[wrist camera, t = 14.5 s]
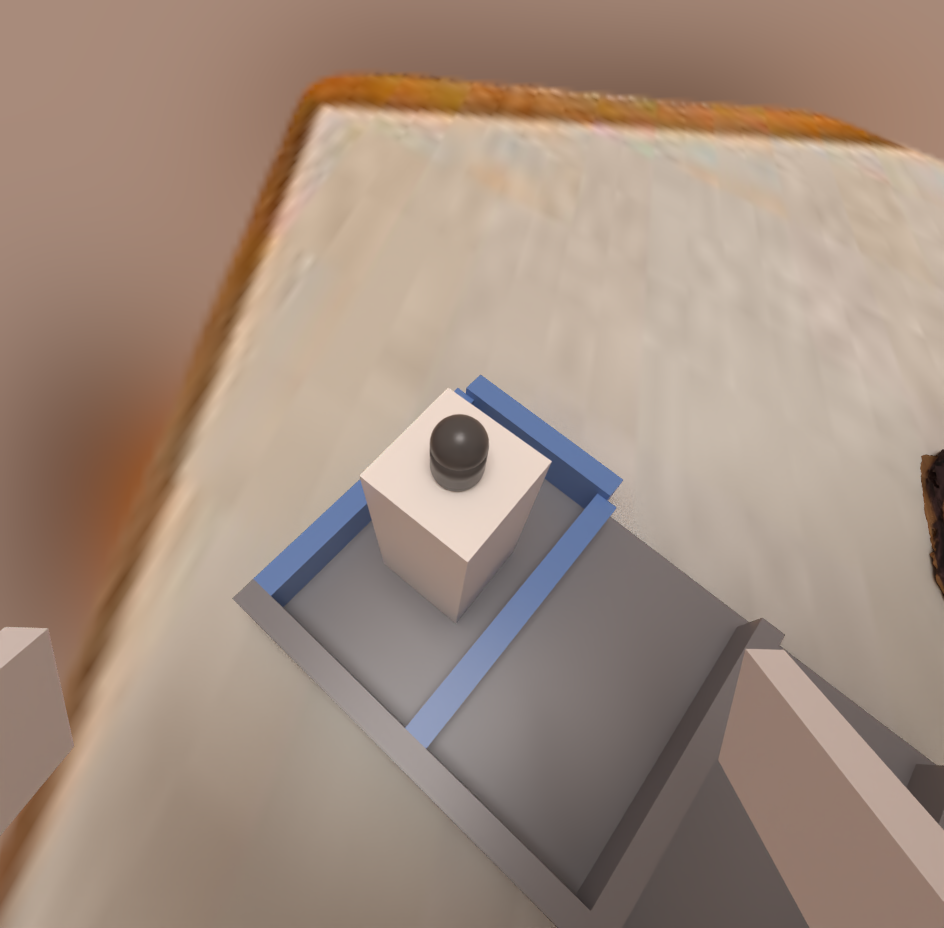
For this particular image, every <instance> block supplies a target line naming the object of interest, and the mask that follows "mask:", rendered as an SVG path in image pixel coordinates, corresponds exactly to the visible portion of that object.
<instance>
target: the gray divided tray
mask: <svg viewBox="0 0 944 928" xmlns="http://www.w3.org/2000/svg"><path fill="white" fill-rule="evenodd" d="M454 392H455V393H457V394H458V395H459V396H461V397H462V398H464V399H465V400H466V401H468V402H469V403H471V404H472V405H473V406H475V407H476V408H478V409H479V410H480V411H482V412H483V413H485V414H486V415H487V416H489V417H490V418H492V419H493V420H494V421H496V422H497V423H499V424H500V425H501V426H503V427H504V428H506V429H507V430H508V431H510V432H511V433H513V434H514V435H515V436H517V437H518V438H520V439H521V440H523V441H524V442H525V443H527V444H528V445H530V446H531V447H532V448H534V449H535V450H537V451H538V452H539V453H541V454H542V455H544V456H545V457H546V458H548V459H549V460H551V461H552V462H551V464H550V467H549V469H548V471H547V474H546V476H545V478H544V481H543V483H542V485H541V488H540V490H539V492H538V495H537V497H536V499H535V501H534V504H533V506H532V508H531V511H530V513H529V515H528V518H527V520H526V522H525V525H524V527H523V529H522V532H521V534H520V536H519V539H518V541H517V543H516V546H515V548H514V550H513V552H512V553H511V555H510V556H509V557H508V558H507V560H506V561H505V562H504V564H503V565H502V566H501V567H500V569H499V570H498V571H497V572H496V574H495V575H494V576H493V577H492V579H491V580H490V581H489V582H488V584H487V585H486V586H485V587H484V589H483V590H482V591H481V592H480V594H479V595H478V596H477V597H476V599H475V600H474V601H473V602H472V604H471V605H470V606H469V607H468V609H467V610H466V611H465V612H464V614H463V615H462V616H461V617H460V619H459V620H458V621H457V622H456V623H454V622H453V621H452V620H451V619H450V618H448V617H447V616H446V615H445V614H444V613H443V612H441V611H440V610H439V609H438V608H437V607H435V606H434V605H433V604H432V603H431V602H429V601H428V600H427V599H426V598H425V597H423V596H422V595H421V594H420V593H419V592H417V591H416V590H415V589H414V588H413V587H411V586H410V585H409V584H408V583H407V582H406V581H404V580H403V579H402V578H401V577H400V576H398V575H397V574H396V573H395V572H394V571H392V570H391V569H390V568H389V567H388V566H386V565H385V564H384V561H383V558H382V554H381V551H380V547H379V544H378V540H377V537H376V533H375V530H374V526H373V523H372V519H371V516H370V512H369V509H368V505H367V501H366V498H365V494H364V491H363V487H362V484H361V480H359V481H358V482H356V483H355V484H354V485H353V486H352V487H351V488H350V489H349V490H348V491H347V492H346V493H345V494H344V495H343V496H341V497H340V498H339V499H338V500H337V501H336V502H335V503H334V504H333V505H332V506H331V507H330V508H329V509H328V510H326V511H325V512H324V513H323V514H322V515H321V516H320V517H319V518H318V519H317V520H316V521H315V522H314V523H313V524H312V525H310V526H309V527H308V528H307V529H306V530H305V531H304V532H303V533H302V534H301V535H300V536H299V537H298V538H297V539H295V540H294V541H293V542H292V543H291V544H290V545H289V546H288V547H287V548H286V549H285V550H284V551H283V552H282V553H280V554H279V555H278V556H277V557H276V558H275V559H274V560H273V561H272V562H271V563H270V564H269V565H268V566H267V567H265V568H264V569H263V570H262V571H261V572H260V573H259V574H258V575H257V576H256V577H255V578H254V579H253V580H252V581H250V582H249V583H248V584H247V585H246V586H245V587H244V588H243V589H242V590H241V591H240V592H239V593H238V594H237V595H235V596H234V597H233V598H232V599H233V600H234V601H235V602H236V603H237V604H238V605H239V606H240V607H241V608H242V609H243V610H244V611H245V612H246V613H247V614H248V615H249V616H250V617H251V618H252V619H253V620H254V621H255V622H256V623H257V624H258V625H259V626H260V627H261V628H262V629H263V630H264V631H265V632H266V633H267V634H268V635H269V636H270V637H271V638H272V639H273V640H274V641H275V642H276V643H277V644H278V645H279V646H280V647H281V648H282V649H283V650H284V651H285V652H286V653H287V654H288V655H289V656H290V657H291V658H292V659H293V660H294V661H295V662H296V663H297V664H298V665H299V666H300V667H301V668H302V669H303V670H304V671H305V672H306V673H307V674H308V675H309V676H310V677H311V678H312V680H313V681H314V682H315V683H316V684H317V685H318V686H319V687H320V688H321V689H322V690H323V691H324V692H325V693H326V694H327V695H328V696H329V697H330V698H331V699H332V700H333V701H334V702H335V703H336V704H337V705H338V706H339V707H340V708H341V709H342V710H343V711H344V712H345V713H346V714H347V715H348V716H349V717H350V718H351V719H352V720H353V721H354V722H355V723H356V724H357V725H358V726H359V727H360V728H361V729H362V730H363V731H364V732H365V733H366V734H367V735H368V736H369V737H370V738H371V739H372V740H373V741H374V742H375V743H376V744H377V745H378V746H379V747H380V748H381V749H382V750H383V751H384V752H385V753H386V754H387V755H388V756H389V757H390V758H391V759H392V760H393V762H394V763H395V764H396V765H397V766H398V767H399V768H400V769H401V770H402V771H403V772H404V773H405V774H406V775H407V776H408V777H409V778H410V779H411V780H412V781H413V782H414V783H415V784H416V785H417V786H418V787H419V788H420V789H421V790H422V791H423V792H424V793H425V794H426V795H427V796H428V797H429V798H430V799H431V800H432V801H433V802H434V803H435V804H436V805H437V806H438V807H439V808H440V809H441V810H442V811H443V812H444V813H445V814H446V815H447V816H448V817H449V818H450V819H451V820H452V821H453V822H454V823H455V824H456V825H457V826H458V827H459V828H460V829H461V830H462V831H463V832H464V833H465V834H466V835H467V836H468V837H469V838H470V839H471V840H472V841H473V842H474V844H475V845H476V846H477V847H478V848H479V849H480V850H481V851H482V852H483V853H484V854H485V855H486V856H487V857H488V858H489V859H490V860H491V861H492V862H493V863H494V864H495V865H496V866H497V867H498V868H499V869H500V870H501V871H502V872H503V873H504V874H505V875H506V876H507V877H508V878H509V879H510V880H511V881H512V882H513V883H514V884H515V885H516V886H517V887H518V888H519V889H520V890H521V891H522V892H523V893H524V894H525V895H526V896H527V897H528V898H529V899H530V900H531V901H532V902H533V903H534V904H535V905H536V906H537V907H538V908H539V909H540V910H541V911H542V912H543V913H544V914H545V915H546V916H547V917H548V918H549V919H550V920H551V921H552V922H553V923H554V924H555V926H556V927H557V928H809V926H808V924H807V922H806V920H805V919H804V917H803V915H802V913H801V911H800V909H799V908H798V906H797V904H796V902H795V900H794V898H793V897H792V895H791V893H790V891H789V889H788V887H787V886H786V884H785V882H784V880H783V878H782V876H781V875H780V873H779V871H778V869H777V867H776V865H775V863H774V862H773V860H772V858H771V856H770V854H769V852H768V851H767V849H766V847H765V845H764V843H763V841H762V840H761V838H760V836H759V834H758V832H757V830H756V829H755V827H754V825H753V823H752V821H751V819H750V818H749V816H748V814H747V812H746V810H745V808H744V807H743V805H742V803H741V801H740V799H739V797H738V795H737V794H736V792H735V790H734V788H733V786H732V784H731V783H730V781H729V779H728V777H727V775H726V773H725V772H724V770H723V768H722V766H721V764H720V762H719V761H718V758H719V754H720V750H721V746H722V742H723V738H724V734H725V730H726V726H727V722H728V718H729V714H730V710H731V706H732V701H733V697H734V693H735V689H736V685H737V681H738V677H739V673H740V669H741V665H742V661H743V657H744V653H745V649H771V650H785V649H783V648H782V647H781V646H779V645H780V643H781V641H782V640H783V638H784V636H785V634H783V633H782V632H781V631H779V630H778V629H777V628H775V627H774V626H773V625H771V624H770V623H769V622H767V621H766V620H765V619H763V618H760V619H758V620H755V621H752V622H748V621H747V620H745V619H744V618H743V617H741V616H740V615H739V614H737V613H736V612H735V611H733V610H732V609H731V608H729V607H728V606H727V605H726V604H724V603H723V602H722V601H720V600H719V599H718V598H716V597H715V596H714V595H712V594H711V593H710V592H708V591H707V590H706V589H705V588H703V587H702V586H701V585H699V584H698V583H697V582H695V581H694V580H693V579H691V578H690V577H689V576H687V575H686V574H685V573H684V572H682V571H681V570H680V569H678V568H677V567H676V566H674V565H673V564H672V563H670V562H669V561H668V560H666V559H665V558H664V557H663V556H661V555H660V554H659V553H657V552H656V551H655V550H653V549H652V548H651V547H649V546H648V545H647V544H645V543H644V542H643V541H642V540H640V539H639V538H638V537H636V536H635V535H634V534H632V533H631V532H630V531H628V530H627V529H626V528H624V527H623V526H622V525H621V524H619V523H618V522H617V521H615V520H614V519H613V518H611V517H610V516H611V514H612V513H613V512H614V511H615V509H616V507H615V506H614V505H612V504H611V503H610V502H608V500H609V499H610V497H611V496H612V495H613V493H614V492H615V491H616V489H617V488H618V487H619V485H620V484H621V483H622V481H623V479H621V478H620V477H619V476H617V475H616V474H615V473H613V472H612V471H611V470H609V469H608V468H607V467H605V466H604V465H602V464H601V463H600V462H598V461H597V460H596V459H594V458H593V457H592V456H590V455H589V454H588V453H586V452H585V451H583V450H582V449H581V448H579V447H578V446H577V445H575V444H574V443H573V442H571V441H570V440H569V439H567V438H566V437H564V436H563V435H562V434H560V433H559V432H558V431H556V430H555V429H554V428H552V427H551V426H550V425H548V424H547V423H545V422H544V421H543V420H541V419H540V418H539V417H537V416H536V415H535V414H533V413H532V412H531V411H529V410H528V409H526V408H525V407H524V406H522V405H521V404H520V403H518V402H517V401H516V400H514V399H513V398H512V397H510V396H509V395H507V394H506V393H505V392H503V391H502V390H501V389H499V388H498V387H497V386H495V385H494V384H493V383H491V382H490V381H488V380H487V379H486V378H484V377H483V376H482V375H480V376H479V377H478V378H477V379H475V380H474V381H473V382H472V383H471V384H470V385H469V386H468V387H467V388H466V394H465V393H464V392H463V391H461V390H460V389H459V388H457V389H456V390H455V391H454ZM785 652H786V653H787V654H788V655H789V656H790V657H791V658H792V659H793V661H794V662H795V663H796V664H797V665H798V666H799V667H800V668H801V670H802V671H803V672H804V673H805V674H806V675H807V676H808V677H809V679H810V680H811V681H812V682H813V683H814V684H815V685H816V687H817V688H818V689H819V690H820V691H821V692H822V693H823V694H824V696H825V697H826V698H827V699H828V700H829V701H830V702H831V703H832V705H833V706H834V707H835V708H836V709H837V710H838V711H839V712H840V714H841V715H842V716H843V717H844V718H845V719H846V720H847V722H848V723H849V724H850V725H851V726H852V727H853V728H854V729H855V731H856V732H857V733H858V734H859V735H860V736H861V737H862V738H863V740H864V741H865V742H866V743H867V744H868V745H869V746H870V748H871V749H872V750H873V751H874V752H875V753H876V754H877V755H878V757H879V758H880V759H881V760H882V761H883V762H884V763H885V764H886V766H887V767H888V768H889V769H890V770H891V771H892V772H893V773H894V775H895V776H896V777H897V778H898V779H899V780H900V781H901V783H902V784H903V785H904V786H905V787H906V788H907V789H908V790H909V792H910V793H911V794H912V795H913V796H914V797H915V798H916V799H917V801H918V802H919V803H920V804H921V805H922V806H923V807H924V808H925V810H926V811H927V812H928V813H929V814H930V815H931V816H932V818H933V819H934V820H935V821H936V822H937V823H938V824H939V825H940V827H941V828H942V829H943V830H944V766H941V765H936V764H934V763H933V762H932V761H930V760H929V759H928V758H926V757H925V756H924V755H922V754H921V753H920V752H918V751H917V750H916V749H915V748H913V747H912V746H911V745H909V744H908V743H907V742H905V741H904V740H903V739H901V738H900V737H899V736H897V735H896V734H895V733H894V732H892V731H891V730H890V729H888V728H887V727H886V726H884V725H883V724H882V723H880V722H879V721H878V720H876V719H875V718H874V717H873V716H871V715H870V714H869V713H867V712H866V711H865V710H863V709H862V708H861V707H859V706H858V705H857V704H855V703H854V702H853V701H852V700H850V699H849V698H848V697H846V696H845V695H844V694H842V693H841V692H840V691H838V690H837V689H836V688H834V687H833V686H832V685H831V684H829V683H828V682H827V681H825V680H824V679H823V678H821V677H820V676H819V675H817V674H816V673H815V672H813V671H812V670H811V669H810V668H808V667H807V666H806V665H804V664H803V663H802V662H800V661H799V660H798V659H796V658H795V657H794V656H792V655H791V654H790V653H789V652H787V651H786V650H785Z"/></svg>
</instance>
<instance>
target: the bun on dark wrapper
mask: <svg viewBox="0 0 944 928" xmlns="http://www.w3.org/2000/svg"><path fill="white" fill-rule="evenodd" d="M921 457H922V462H921V468H920V469H921V473H922V474H921V482H922V487H923V497H924V503H925V504H924V511H925V515H926V519H927V522H928V529H929V534H930V536H931V538H930V541H931V543H932V548H934V550H935V552H931V553H930V556H931V557H932V558H933V559H934V560H933V565H934V566H935V567H936V568H937V573H936V581H937V584H938V585H939V586H940V588H941V590H942V592H943V594H944V450H941V452H940V453H939V455H938V456H932V455H931V456H929V455H923V456H921Z"/></svg>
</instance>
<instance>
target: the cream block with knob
mask: <svg viewBox="0 0 944 928" xmlns="http://www.w3.org/2000/svg"><path fill="white" fill-rule="evenodd" d="M551 462H552V461H551V460H549V459H548V458H546V457H545V456H544V455H542V454H541V453H539V452H538V451H537V450H535V449H534V448H532V447H531V446H530V445H528V444H527V443H525V442H524V441H523V440H521V439H520V438H518V437H517V436H515V435H514V434H513V433H511V432H510V431H508V430H507V429H506V428H504V427H503V426H501V425H500V424H499V423H497V422H496V421H494V420H493V419H492V418H490V417H489V416H487V415H486V414H485V413H483V412H482V411H480V410H479V409H478V408H476V407H475V406H473V405H472V404H471V403H469V402H468V401H466V400H465V399H464V398H462V397H461V396H459V395H458V394H457V393H455V392H454V391H452V390H451V389H450V388H447V389H446V390H445V391H444V392H443V393H442V394H441V395H440V396H439V397H438V398H437V399H436V400H435V401H434V402H433V403H432V404H431V405H430V406H429V407H428V408H427V409H426V410H425V411H424V412H423V413H422V414H421V415H420V416H419V417H418V418H417V419H416V420H415V421H414V422H413V423H412V424H411V425H410V426H409V427H408V428H407V429H406V430H405V431H404V432H403V433H402V434H401V435H400V436H399V437H398V438H397V439H396V440H395V441H394V442H393V443H392V444H391V445H390V446H389V447H388V448H387V449H386V450H385V451H384V452H383V453H382V454H381V455H380V456H378V457H377V458H376V459H375V460H374V461H373V462H372V463H371V464H370V465H369V466H368V467H367V468H366V469H365V470H364V471H363V472H362V473H361V474H360V475H359V477H360V480H361V484H362V487H363V491H364V494H365V498H366V501H367V505H368V509H369V512H370V516H371V519H372V523H373V526H374V530H375V533H376V537H377V540H378V544H379V547H380V551H381V554H382V558H383V561H384V564H385V565H386V566H388V567H389V568H390V569H391V570H392V571H394V572H395V573H396V574H397V575H398V576H400V577H401V578H402V579H403V580H404V581H406V582H407V583H408V584H409V585H410V586H411V587H413V588H414V589H415V590H416V591H417V592H419V593H420V594H421V595H422V596H423V597H425V598H426V599H427V600H428V601H429V602H431V603H432V604H433V605H434V606H435V607H437V608H438V609H439V610H440V611H441V612H443V613H444V614H445V615H446V616H447V617H448V618H450V619H451V620H452V621H453V622H454V623H456V622H457V621H458V620H459V619H460V617H461V616H462V615H463V614H464V612H465V611H466V610H467V609H468V607H469V606H470V605H471V604H472V602H473V601H474V600H475V599H476V597H477V596H478V595H479V594H480V592H481V591H482V590H483V589H484V587H485V586H486V585H487V584H488V582H489V581H490V580H491V579H492V577H493V576H494V575H495V574H496V572H497V571H498V570H499V569H500V567H501V566H502V565H503V564H504V562H505V561H506V560H507V558H508V557H509V556H510V555H511V553H512V552H513V550H514V548H515V546H516V543H517V541H518V539H519V536H520V534H521V532H522V529H523V527H524V525H525V522H526V520H527V518H528V515H529V513H530V511H531V508H532V506H533V504H534V501H535V499H536V497H537V495H538V492H539V490H540V488H541V485H542V483H543V481H544V478H545V476H546V474H547V471H548V469H549V467H550V464H551Z"/></svg>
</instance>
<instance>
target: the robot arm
mask: <svg viewBox="0 0 944 928" xmlns="http://www.w3.org/2000/svg"><path fill="white" fill-rule="evenodd" d="M73 747H74V744H73V739H72V735H71V730H70V725H69V721H68V716H67V712H66V707H65V703H64V698H63V694H62V689H61V685H60V680H59V675H58V671H57V666H56V662H55V657H54V653H53V648H52V644H51V640H50V634H49V630H48V628H20V627H5V628H3V629H2V630H1V631H0V835H1V834H2V833H3V832H4V831H5V829H6V828H7V827H8V826H9V825H10V823H11V822H12V821H13V820H14V818H15V817H16V816H17V815H18V814H19V812H20V811H21V810H22V809H23V808H24V806H25V805H26V804H27V803H28V802H29V800H30V799H31V798H32V797H33V795H34V794H35V793H36V792H37V791H38V789H39V788H40V787H41V786H42V785H43V783H44V782H45V781H46V780H47V779H48V777H49V776H50V775H51V774H52V772H53V771H54V770H55V769H56V768H57V766H58V765H59V764H60V763H61V762H62V760H63V759H64V758H65V757H66V756H67V754H68V753H69V752H70V751H71V749H72V748H73ZM718 761H719V762H720V764H721V766H722V768H723V770H724V772H725V773H726V775H727V777H728V779H729V781H730V783H731V784H732V786H733V788H734V790H735V792H736V794H737V795H738V797H739V799H740V801H741V803H742V805H743V807H744V808H745V810H746V812H747V814H748V816H749V818H750V819H751V821H752V823H753V825H754V827H755V829H756V830H757V832H758V834H759V836H760V838H761V840H762V841H763V843H764V845H765V847H766V849H767V851H768V852H769V854H770V856H771V858H772V860H773V862H774V863H775V865H776V867H777V869H778V871H779V873H780V875H781V876H782V878H783V880H784V882H785V884H786V886H787V887H788V889H789V891H790V893H791V895H792V897H793V898H794V900H795V902H796V904H797V906H798V908H799V909H800V911H801V913H802V915H803V917H804V919H805V920H806V922H807V924H808V926H809V928H944V830H943V829H942V828H941V827H940V825H939V824H938V823H937V822H936V821H935V820H934V819H933V818H932V816H931V815H930V814H929V813H928V812H927V811H926V810H925V808H924V807H923V806H922V805H921V804H920V803H919V802H918V801H917V799H916V798H915V797H914V796H913V795H912V794H911V793H910V792H909V790H908V789H907V788H906V787H905V786H904V785H903V784H902V783H901V781H900V780H899V779H898V778H897V777H896V776H895V775H894V773H893V772H892V771H891V770H890V769H889V768H888V767H887V766H886V764H885V763H884V762H883V761H882V760H881V759H880V758H879V757H878V755H877V754H876V753H875V752H874V751H873V750H872V749H871V748H870V746H869V745H868V744H867V743H866V742H865V741H864V740H863V738H862V737H861V736H860V735H859V734H858V733H857V732H856V731H855V729H854V728H853V727H852V726H851V725H850V724H849V723H848V722H847V720H846V719H845V718H844V717H843V716H842V715H841V714H840V712H839V711H838V710H837V709H836V708H835V707H834V706H833V705H832V703H831V702H830V701H829V700H828V699H827V698H826V697H825V696H824V694H823V693H822V692H821V691H820V690H819V689H818V688H817V687H816V685H815V684H814V683H813V682H812V681H811V680H810V679H809V677H808V676H807V675H806V674H805V673H804V672H803V671H802V670H801V668H800V667H799V666H798V665H797V664H796V663H795V662H794V661H793V659H792V658H791V657H790V656H789V655H788V654H787V653H786V652H785V650H771V649H745V653H744V657H743V661H742V665H741V669H740V673H739V677H738V681H737V685H736V689H735V693H734V697H733V701H732V706H731V710H730V714H729V718H728V722H727V726H726V730H725V734H724V738H723V742H722V746H721V750H720V754H719V758H718Z"/></svg>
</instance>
